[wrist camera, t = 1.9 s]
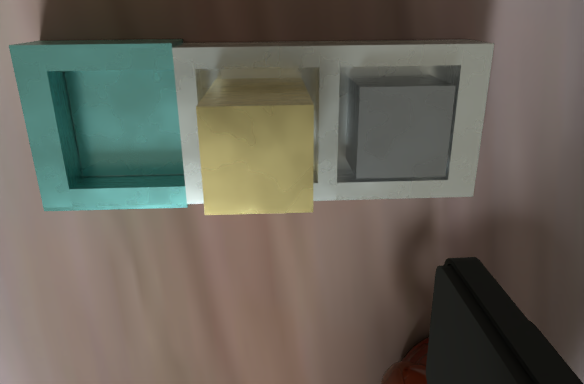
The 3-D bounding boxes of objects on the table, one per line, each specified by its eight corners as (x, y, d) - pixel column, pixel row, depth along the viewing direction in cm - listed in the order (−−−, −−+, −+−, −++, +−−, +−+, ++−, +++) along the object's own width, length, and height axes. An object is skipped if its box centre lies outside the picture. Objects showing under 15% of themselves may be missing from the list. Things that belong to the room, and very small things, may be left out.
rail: (469, 35, 26) (495, 39, 23) (451, 180, 29) (472, 200, 26) (39, 40, 25) (8, 45, 22) (67, 189, 28) (44, 211, 25)
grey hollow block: (431, 75, 26) (455, 85, 22) (424, 156, 27) (445, 176, 24) (348, 76, 25) (359, 87, 22) (345, 157, 27) (356, 178, 24)
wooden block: (301, 77, 25) (313, 104, 18) (301, 158, 27) (313, 212, 20) (215, 78, 25) (196, 106, 18) (221, 160, 27) (204, 215, 20)
